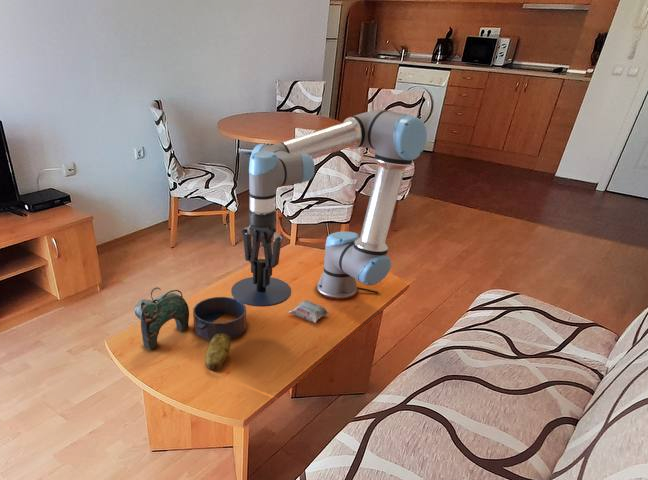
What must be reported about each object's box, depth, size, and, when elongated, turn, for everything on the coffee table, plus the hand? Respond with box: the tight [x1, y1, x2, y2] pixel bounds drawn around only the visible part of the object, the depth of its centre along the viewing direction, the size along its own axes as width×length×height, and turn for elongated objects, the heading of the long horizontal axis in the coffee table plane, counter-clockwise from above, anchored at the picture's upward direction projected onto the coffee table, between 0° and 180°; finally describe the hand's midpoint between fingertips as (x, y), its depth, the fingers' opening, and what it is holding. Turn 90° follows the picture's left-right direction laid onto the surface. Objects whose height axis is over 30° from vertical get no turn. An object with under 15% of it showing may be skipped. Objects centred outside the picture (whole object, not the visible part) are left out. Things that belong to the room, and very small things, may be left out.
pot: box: [192, 296, 247, 340], centre depth 173 cm, size 18×23×7 cm
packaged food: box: [288, 300, 330, 323], centre depth 178 cm, size 9×12×5 cm
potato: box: [204, 333, 232, 372], centre depth 156 cm, size 8×13×8 cm, turn 147°
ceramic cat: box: [134, 286, 190, 351], centre depth 164 cm, size 20×6×20 cm, turn 137°
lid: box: [230, 258, 292, 308], centre depth 155 cm, size 19×19×11 cm
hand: (261, 283), depth 157 cm, fingers closed on lid, 3 cm apart
